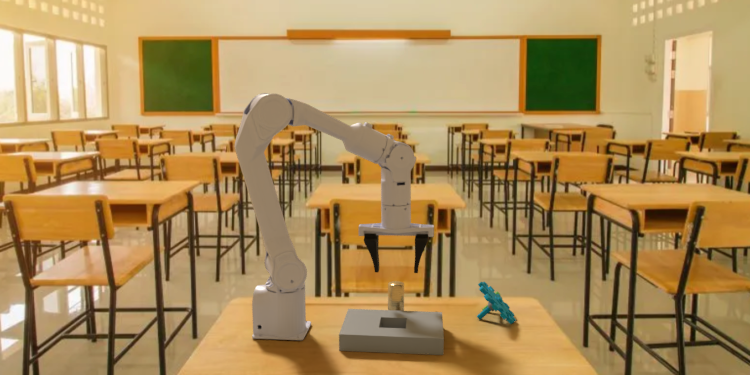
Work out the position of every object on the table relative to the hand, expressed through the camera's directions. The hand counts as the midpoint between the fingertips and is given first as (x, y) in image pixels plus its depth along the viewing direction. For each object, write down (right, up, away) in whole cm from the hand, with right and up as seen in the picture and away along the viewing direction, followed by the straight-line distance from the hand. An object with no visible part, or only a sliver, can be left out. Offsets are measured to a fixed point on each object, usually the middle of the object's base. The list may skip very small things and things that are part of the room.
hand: (396, 271), depth 115 cm
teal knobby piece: (+20, -10, +1) cm, 22 cm away
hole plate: (-1, -11, -8) cm, 14 cm away
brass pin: (0, -9, +2) cm, 10 cm away
